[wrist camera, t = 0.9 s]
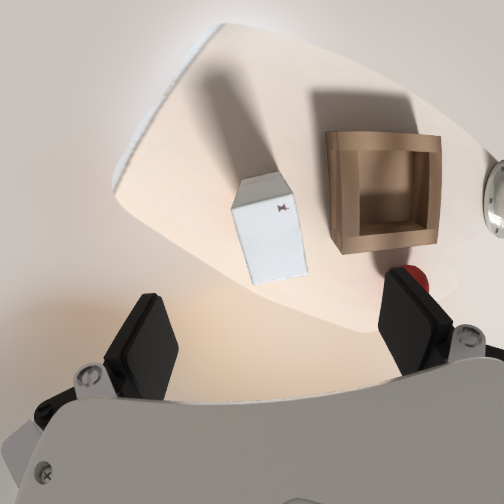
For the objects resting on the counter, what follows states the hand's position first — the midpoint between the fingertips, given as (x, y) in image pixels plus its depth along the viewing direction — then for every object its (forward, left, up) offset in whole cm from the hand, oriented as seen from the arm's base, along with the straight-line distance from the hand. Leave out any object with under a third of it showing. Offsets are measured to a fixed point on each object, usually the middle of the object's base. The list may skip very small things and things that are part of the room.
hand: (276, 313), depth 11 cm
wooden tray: (-13, -1, -20) cm, 24 cm away
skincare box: (0, 0, -20) cm, 20 cm away
